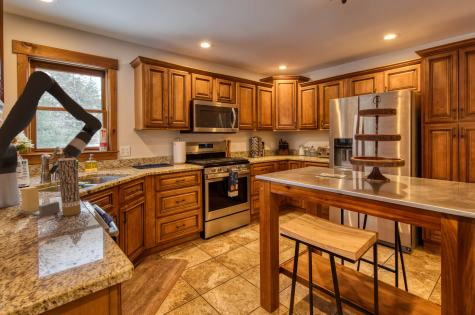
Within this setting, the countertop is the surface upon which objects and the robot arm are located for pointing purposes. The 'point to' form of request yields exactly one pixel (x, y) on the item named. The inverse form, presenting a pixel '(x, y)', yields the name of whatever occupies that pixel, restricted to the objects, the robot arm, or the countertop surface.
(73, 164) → the brown bark pillar
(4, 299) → the countertop surface
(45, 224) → the countertop surface
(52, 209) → the track
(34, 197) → the keeper
